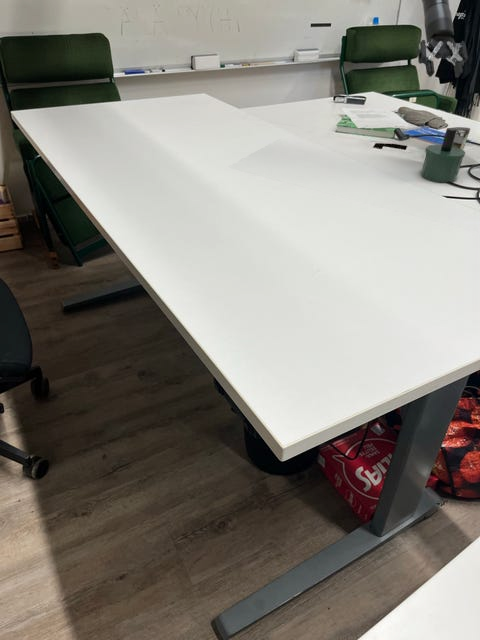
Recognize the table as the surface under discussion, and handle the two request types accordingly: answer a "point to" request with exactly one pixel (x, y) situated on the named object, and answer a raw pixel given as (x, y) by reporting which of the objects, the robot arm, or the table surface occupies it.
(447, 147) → the lid
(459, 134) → the food container
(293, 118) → the table surface
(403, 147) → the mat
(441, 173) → the pot
